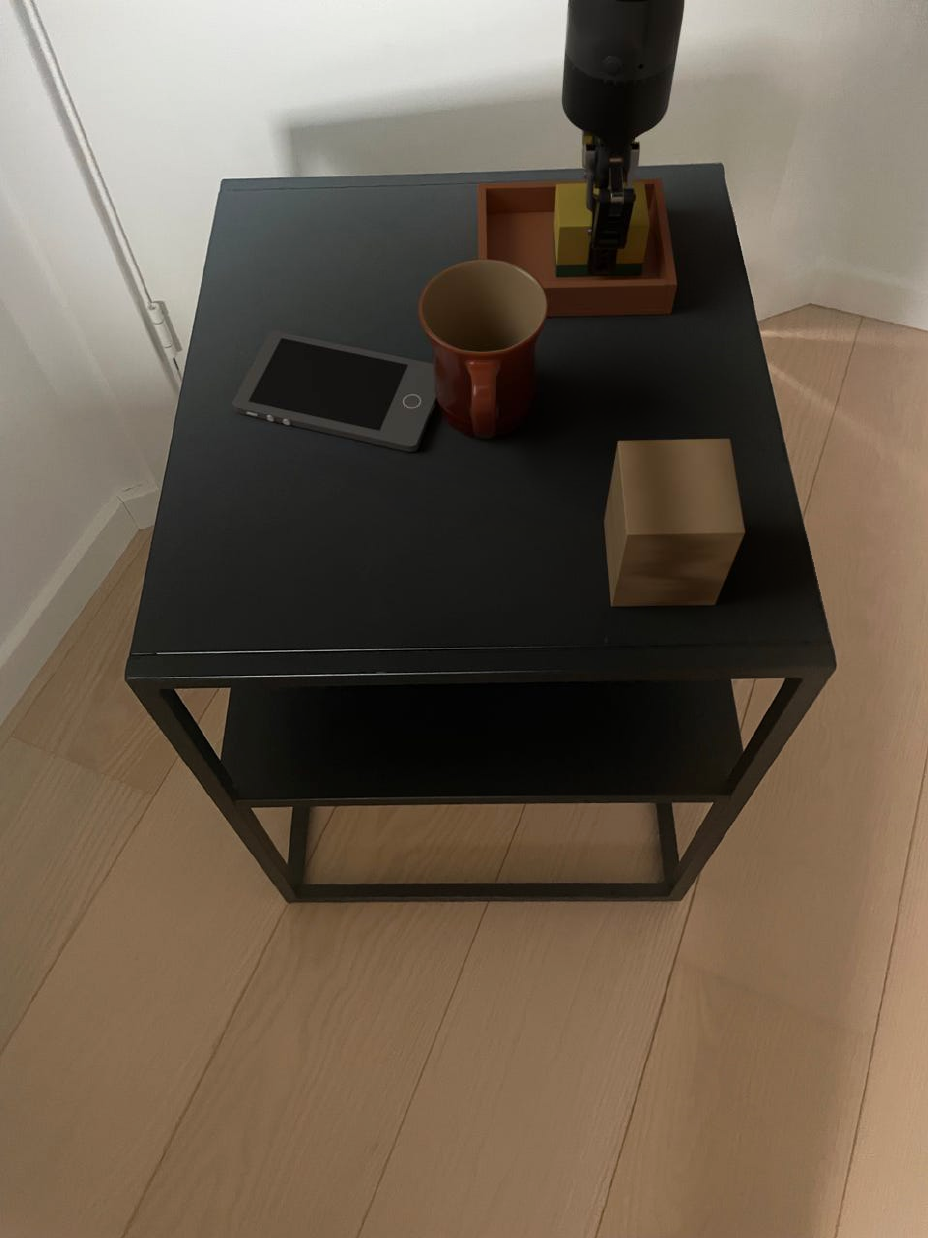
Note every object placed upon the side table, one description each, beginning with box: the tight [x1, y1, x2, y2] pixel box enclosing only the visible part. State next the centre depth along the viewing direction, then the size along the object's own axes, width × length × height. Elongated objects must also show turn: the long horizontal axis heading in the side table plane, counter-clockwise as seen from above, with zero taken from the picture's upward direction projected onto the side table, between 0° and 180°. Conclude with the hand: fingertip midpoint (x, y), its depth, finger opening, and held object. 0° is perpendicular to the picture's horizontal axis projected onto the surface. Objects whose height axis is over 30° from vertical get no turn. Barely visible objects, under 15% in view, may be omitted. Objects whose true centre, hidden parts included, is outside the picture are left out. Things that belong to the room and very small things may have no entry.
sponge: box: [553, 182, 649, 277], centre depth 77 cm, size 7×5×5 cm
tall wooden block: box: [603, 438, 746, 608], centre depth 62 cm, size 7×7×9 cm
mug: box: [417, 258, 549, 440], centre depth 68 cm, size 12×9×10 cm
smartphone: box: [231, 330, 438, 453], centre depth 74 cm, size 15×8×1 cm, turn 73°
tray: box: [477, 177, 678, 318], centre depth 79 cm, size 15×12×3 cm
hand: (598, 246), depth 79 cm, fingers closed on sponge, 5 cm apart
